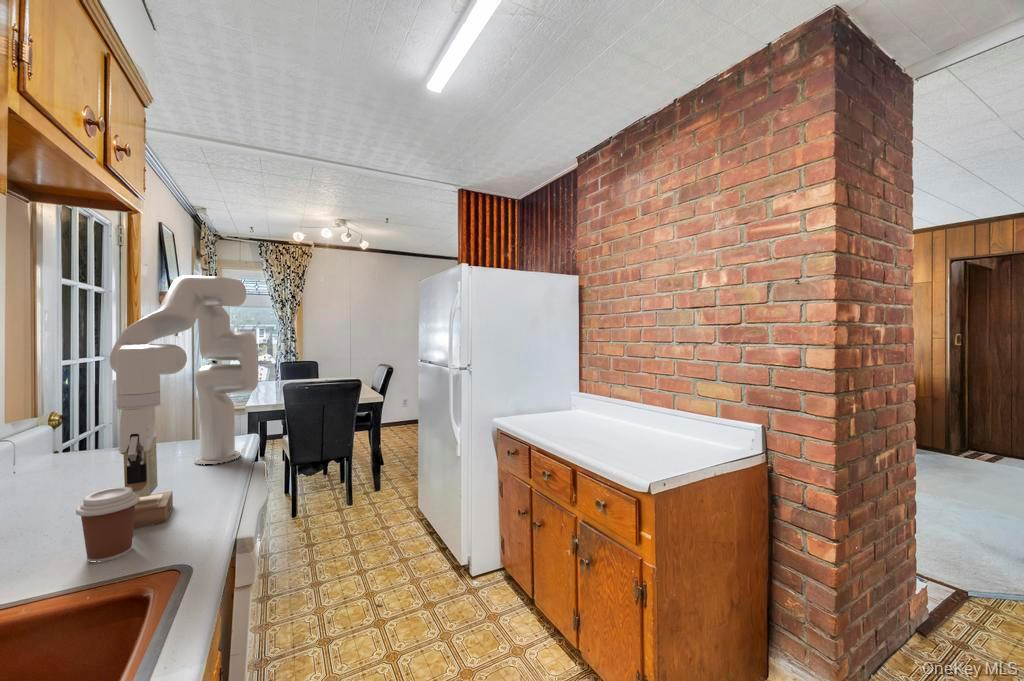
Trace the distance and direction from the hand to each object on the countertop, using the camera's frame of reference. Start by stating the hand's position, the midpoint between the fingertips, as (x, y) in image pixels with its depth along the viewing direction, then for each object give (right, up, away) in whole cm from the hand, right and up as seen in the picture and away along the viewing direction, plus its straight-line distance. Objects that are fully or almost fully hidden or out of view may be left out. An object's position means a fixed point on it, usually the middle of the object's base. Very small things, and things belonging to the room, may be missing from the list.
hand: (140, 476), depth 97 cm
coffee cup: (+7, -11, -14) cm, 19 cm away
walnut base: (0, -10, 0) cm, 10 cm away
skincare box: (0, -4, 0) cm, 4 cm away
